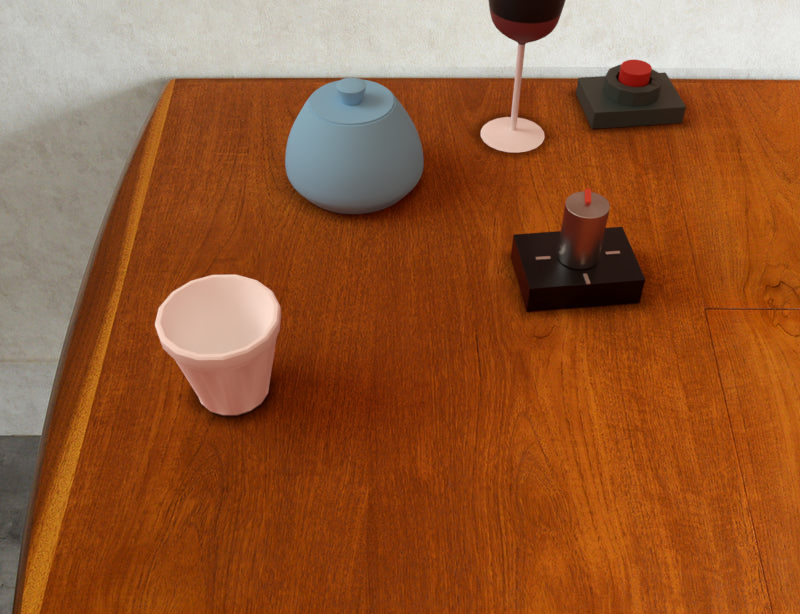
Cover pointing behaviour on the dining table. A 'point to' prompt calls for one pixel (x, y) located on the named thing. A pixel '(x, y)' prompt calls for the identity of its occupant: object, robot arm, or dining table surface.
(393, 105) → the sugar bowl
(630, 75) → the button
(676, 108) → the switch block
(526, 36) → the wineglass
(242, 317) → the cup
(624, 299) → the panel
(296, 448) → the dining table surface
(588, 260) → the knob
